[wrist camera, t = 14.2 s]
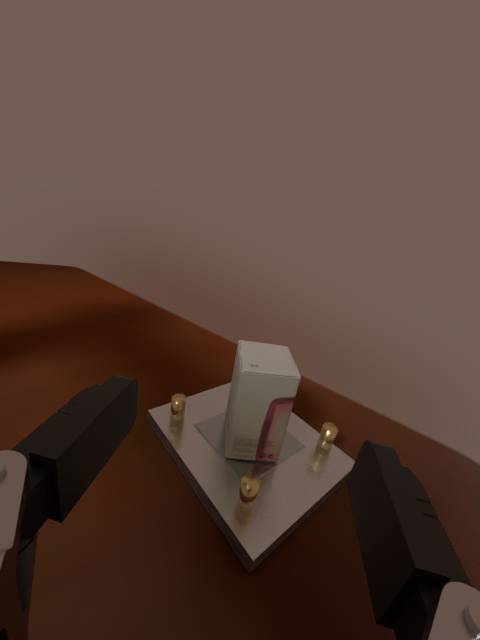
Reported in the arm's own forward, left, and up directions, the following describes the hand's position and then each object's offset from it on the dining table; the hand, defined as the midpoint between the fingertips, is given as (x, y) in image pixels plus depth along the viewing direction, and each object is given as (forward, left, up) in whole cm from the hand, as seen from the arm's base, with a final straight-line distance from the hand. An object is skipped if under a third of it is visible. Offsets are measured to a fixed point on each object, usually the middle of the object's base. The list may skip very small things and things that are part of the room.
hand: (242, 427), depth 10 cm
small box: (-7, +9, -11) cm, 16 cm away
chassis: (-7, +9, -12) cm, 17 cm away
